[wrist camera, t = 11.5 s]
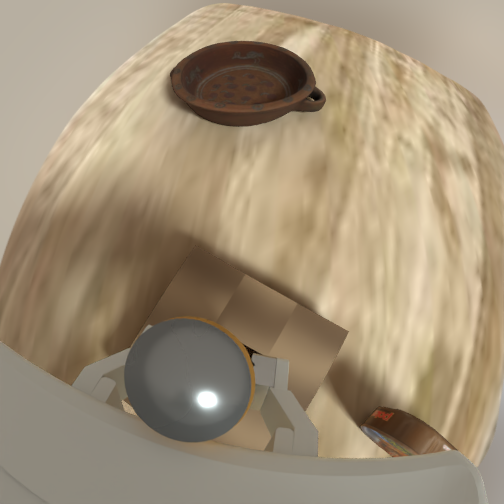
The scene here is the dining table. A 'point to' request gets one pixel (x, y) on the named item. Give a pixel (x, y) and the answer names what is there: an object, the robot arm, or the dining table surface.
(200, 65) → the dish
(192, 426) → the grey upright cylinder
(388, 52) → the dining table surface
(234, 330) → the brown square frame
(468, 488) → the robot arm
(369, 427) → the tin
